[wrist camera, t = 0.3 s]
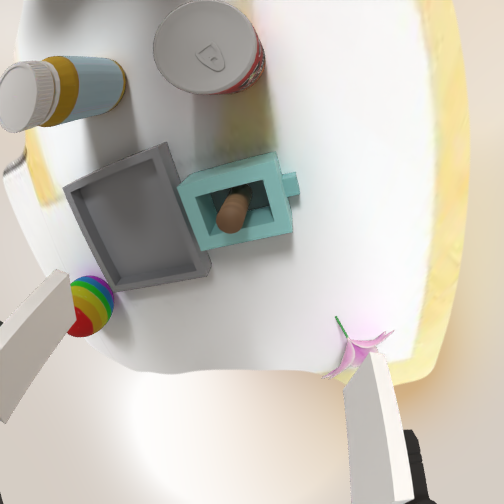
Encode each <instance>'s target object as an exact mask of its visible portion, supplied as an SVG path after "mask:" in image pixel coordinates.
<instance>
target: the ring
mask: <svg viewBox="0 0 504 504" xmlns="http://www.w3.org/2000/svg"><path fill="white" fill-rule="evenodd" d="M259 180H263V182H264V186H265V189H266V193H267V196H268V200H269V204H270V206H266V207H262V208H257V209H253V210H249V211H247V213H246V216H245V220H244V223H243V226H242V228H241V229H240V230H239V231H238V232H236V233H233V234H228V233H225V232H223V231H221V230H220V229H219V228H218V226H217V224H216V217H217V211H216V208H215V205H214V202H213V200H212V197H211V194H210V193H211V192H215V191H219V190H223V189H227V188H231V187H234V186H238V185H242V184H247V183H251V182H255V181H259ZM177 190H178V192H179V195H180V198H181V200H182V203H183V206H184V208H185V211H186V214H187V216H188V219H189V221H190V224H191V227H192V229H193V232H194V234H195V237H196V239H197V242H198V244H199V247H200V249H201V251H204V250H209V249H214V248H219V247H223V246H228V245H233V244H238V243H243V242H247V241H252V240H257V239H262V238H267V237H271V236H276V235H281V234H286V233H291V232H293V229H292V212H291V208H290V204H289V200H288V197H290V196H294V195H299V194H300V190H299V185H298V181H297V177H296V173H295V172H292V173H288V174H283V175H282V173H281V169H280V165H279V162H278V158H277V154H276V151H275V152H270V153H266V154H262V155H258V156H254V157H250V158H246V159H242V160H239V161H235V162H231V163H227V164H224V165H220V166H217V167H213V168H210V169H206V170H203V171H199V172H196V173H193V174H190V175H189V176H188V177H187V178H186V179H185V180H184V181H183V182H182V183H181V184H179V185H178V186H177Z"/></svg>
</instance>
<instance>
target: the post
mask: <svg viewBox="0 0 504 504" xmlns="http://www.w3.org/2000/svg"><path fill="white" fill-rule="evenodd" d="M251 197H252V190H251V188H250V187H249V186H248V185H247V184H242V185H238V186H234V187H232V188H231V190H230V192H229V194H228V196H227V197H226V199H225V201H224V203H223V205H222V207H221V209H220V211H219V212H218V214H217V217H216V224H217V226H218V228H219V229H220V230H221V231H223V232H225V233H228V234H233V233H236V232H238V231H239V230H240V229H241V228H242V226H243V223H244V220H245V216H246V213H247V210H248V207H249V204H250V201H251Z"/></svg>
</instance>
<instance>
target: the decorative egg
mask: <svg viewBox="0 0 504 504" xmlns="http://www.w3.org/2000/svg"><path fill="white" fill-rule="evenodd" d="M70 285H71V292H72V298H73V304H74V309H75V315H76V321H75V323H74V324H73V325H72V326H71V328H70V329H69V330H68V332H67V333H68V334H69V335H71V336H74V337H86V336H90V335H92V334H94V333H96V332H98V331H99V330H100V329H101V328H103V327H104V325H105V324H106V323H107V322H108V320H109V319H110V317H111V314H112V312H113V307H114V298H113V293H112V290H111V288H110V287H109V285H108V284H107V283H106V282H105V281H103V280H102V279H100V278H98V277H96V276H84V277H81V278H78V279H76V280H75V281H74V282H72V283H71V284H70Z"/></svg>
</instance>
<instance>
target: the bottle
mask: <svg viewBox="0 0 504 504" xmlns="http://www.w3.org/2000/svg"><path fill="white" fill-rule="evenodd" d="M125 85H126V79H125V73H124V71H123V69H122V67H121V66H120V65H119V64H118V63H117V62H116V61H114V60H111V59H107V58H96V57H78V56H53V57H48V58H46V59H44V60H42V61H24V62H17V63H15V64H13V65H11V66H10V67H9V68H7V70H5V72H4V73H3V75H2V76H1V78H0V125H1V126H2V128H4V129H5V130H6V131H8V132H11V133H15V132H16V133H17V132H21V131H24V130H27V129H30V128H33V127H35V126H41V127H51V126H56V125H59V124H63V123H67V122H70V121H74V120H78V119H82V118H86V117H90V116H95V115H99V114H103V113H106V112H109V111H110V110H112V109H113V108H114V107H116V106H117V104H118V103H119V102H120V100H121V99H122V96H123V94H124V91H125Z"/></svg>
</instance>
